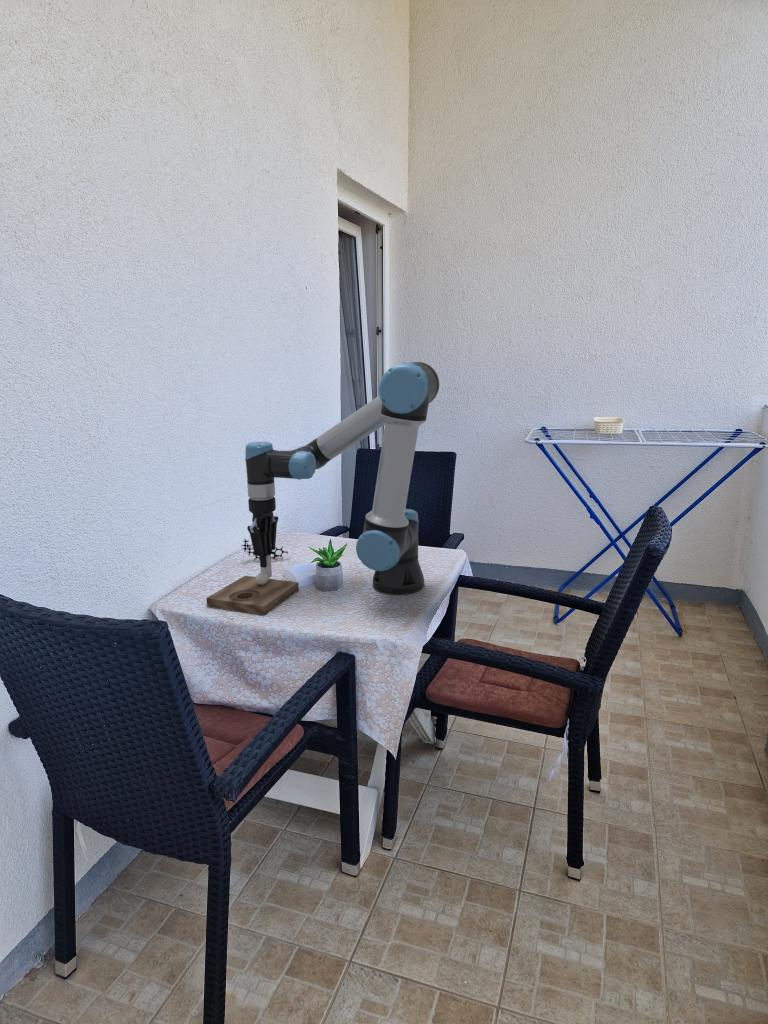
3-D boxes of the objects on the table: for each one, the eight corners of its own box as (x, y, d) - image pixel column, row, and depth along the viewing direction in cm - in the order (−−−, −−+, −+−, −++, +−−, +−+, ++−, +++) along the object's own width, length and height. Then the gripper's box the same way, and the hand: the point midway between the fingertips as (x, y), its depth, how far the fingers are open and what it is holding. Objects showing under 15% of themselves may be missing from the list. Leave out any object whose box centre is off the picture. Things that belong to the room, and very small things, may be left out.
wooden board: (298, 590, 189) (298, 582, 188) (264, 615, 171) (263, 606, 171) (245, 583, 195) (244, 575, 194) (207, 606, 178) (206, 598, 177)
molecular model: (289, 561, 215) (287, 537, 213) (242, 565, 211) (241, 540, 209) (287, 555, 221) (285, 532, 219) (242, 559, 217) (240, 535, 215)
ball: (270, 583, 188) (270, 571, 187) (264, 587, 184) (263, 575, 184) (260, 581, 189) (259, 570, 188) (253, 585, 186) (252, 574, 185)
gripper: (262, 491, 190) (267, 568, 196) (237, 501, 178) (242, 582, 184) (285, 493, 187) (289, 570, 193) (260, 503, 176) (265, 585, 182)
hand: (266, 576), depth 189 cm, fingers closed
